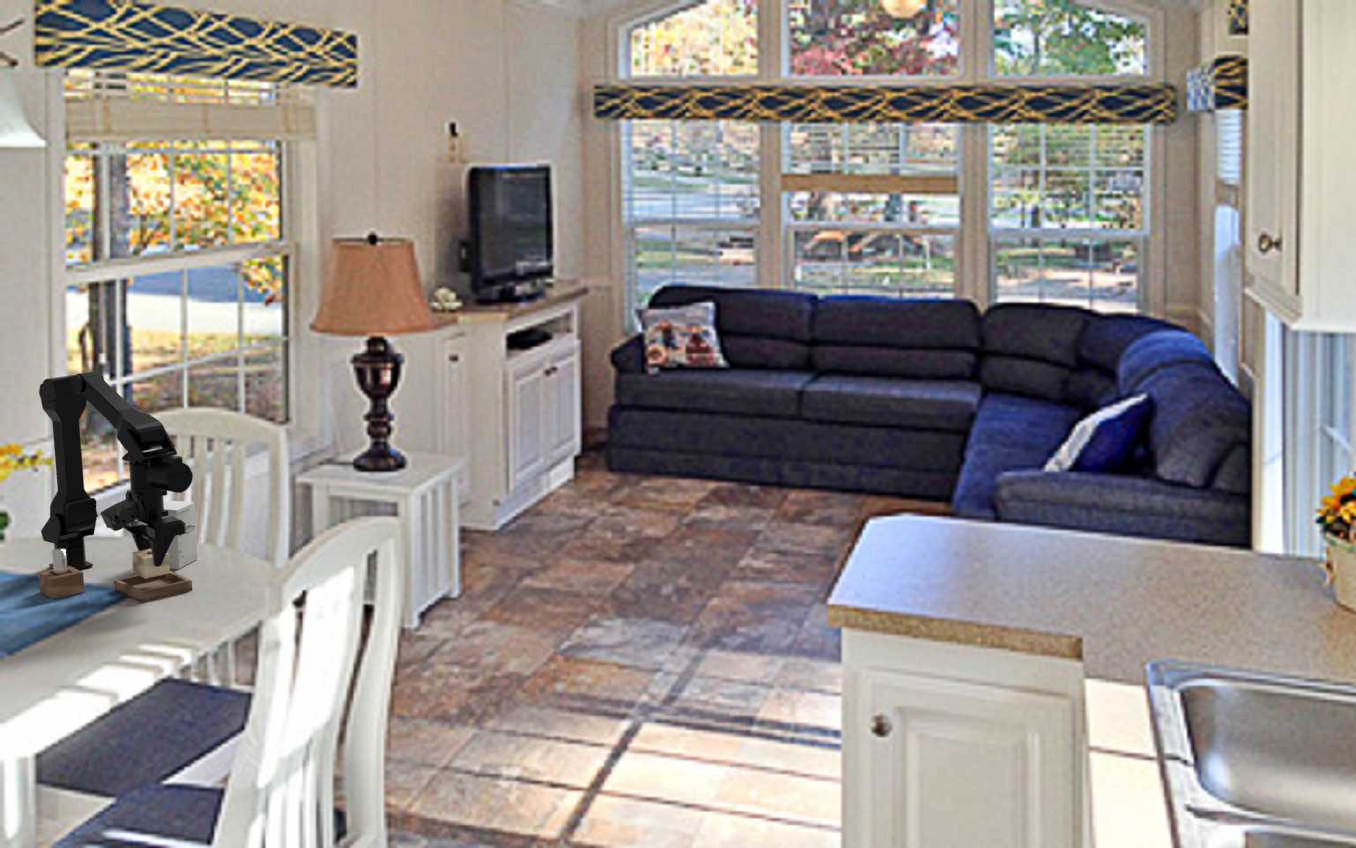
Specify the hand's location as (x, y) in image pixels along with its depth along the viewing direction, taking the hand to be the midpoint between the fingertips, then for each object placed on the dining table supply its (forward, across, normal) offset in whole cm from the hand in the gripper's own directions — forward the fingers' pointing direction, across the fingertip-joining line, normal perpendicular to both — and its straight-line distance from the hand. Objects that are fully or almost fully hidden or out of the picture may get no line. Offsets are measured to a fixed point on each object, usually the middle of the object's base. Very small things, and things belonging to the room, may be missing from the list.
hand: (151, 563), depth 261 cm
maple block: (+2, 0, 0) cm, 2 cm away
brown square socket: (+6, -11, -13) cm, 18 cm away
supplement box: (+6, -14, +11) cm, 19 cm away
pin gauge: (+6, -11, -13) cm, 18 cm away
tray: (+5, 0, 0) cm, 5 cm away
